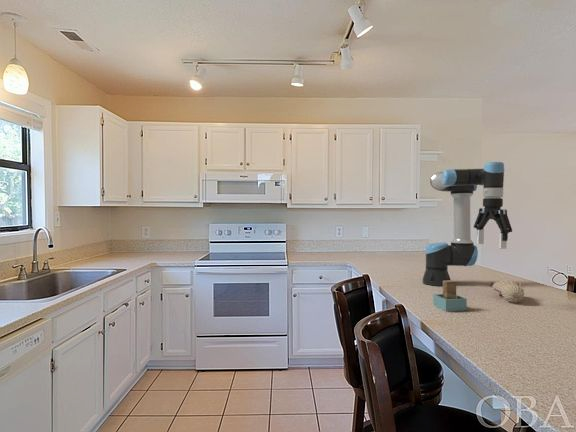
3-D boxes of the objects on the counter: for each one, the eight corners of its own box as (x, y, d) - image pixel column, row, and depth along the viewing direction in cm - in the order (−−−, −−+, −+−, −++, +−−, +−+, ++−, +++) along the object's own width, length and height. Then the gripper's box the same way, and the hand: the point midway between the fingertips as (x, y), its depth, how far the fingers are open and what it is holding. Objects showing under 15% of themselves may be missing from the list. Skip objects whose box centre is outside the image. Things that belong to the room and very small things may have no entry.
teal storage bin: (433, 305, 159) (433, 294, 159) (452, 304, 161) (452, 293, 160) (445, 311, 150) (445, 300, 150) (466, 310, 151) (466, 298, 151)
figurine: (483, 289, 189) (502, 304, 160) (483, 273, 189) (502, 285, 160) (507, 290, 186) (531, 306, 157) (507, 274, 186) (531, 287, 157)
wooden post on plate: (442, 304, 157) (442, 280, 157) (451, 304, 158) (451, 280, 157) (447, 307, 153) (447, 282, 152) (457, 307, 153) (457, 282, 153)
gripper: (466, 197, 165) (464, 242, 167) (507, 198, 141) (505, 250, 142) (480, 197, 167) (479, 242, 168) (523, 198, 142) (521, 250, 143)
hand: (491, 246), depth 155 cm, fingers open, 13 cm apart
